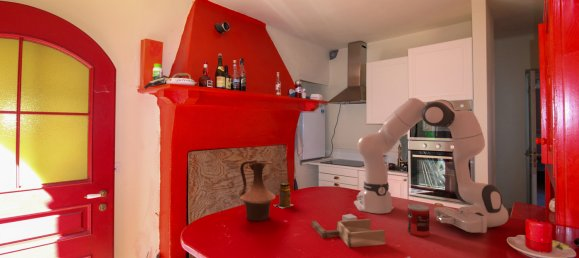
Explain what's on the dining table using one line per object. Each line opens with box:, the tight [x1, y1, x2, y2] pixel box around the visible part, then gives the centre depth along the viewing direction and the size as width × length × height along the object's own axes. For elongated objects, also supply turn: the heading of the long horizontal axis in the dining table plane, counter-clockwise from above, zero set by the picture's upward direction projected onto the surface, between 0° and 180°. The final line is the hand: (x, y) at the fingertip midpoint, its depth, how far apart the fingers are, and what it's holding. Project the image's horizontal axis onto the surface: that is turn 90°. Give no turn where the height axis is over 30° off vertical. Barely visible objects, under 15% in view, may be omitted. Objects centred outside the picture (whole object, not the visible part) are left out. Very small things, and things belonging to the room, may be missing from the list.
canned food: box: [407, 203, 430, 238], centre depth 112 cm, size 8×8×11 cm
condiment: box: [273, 182, 294, 209], centre depth 152 cm, size 7×8×12 cm
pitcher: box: [238, 159, 276, 222], centre depth 133 cm, size 18×17×28 cm
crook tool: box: [310, 220, 340, 239], centre depth 116 cm, size 14×7×2 cm, turn 14°
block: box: [341, 213, 358, 221], centre depth 121 cm, size 4×4×4 cm
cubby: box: [336, 218, 386, 248], centre depth 108 cm, size 13×14×5 cm
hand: (438, 219), depth 113 cm, fingers closed
